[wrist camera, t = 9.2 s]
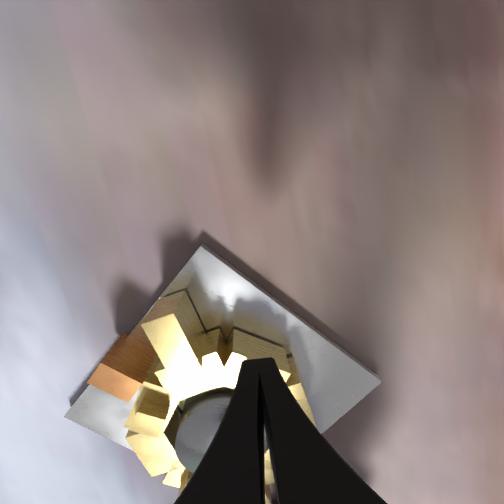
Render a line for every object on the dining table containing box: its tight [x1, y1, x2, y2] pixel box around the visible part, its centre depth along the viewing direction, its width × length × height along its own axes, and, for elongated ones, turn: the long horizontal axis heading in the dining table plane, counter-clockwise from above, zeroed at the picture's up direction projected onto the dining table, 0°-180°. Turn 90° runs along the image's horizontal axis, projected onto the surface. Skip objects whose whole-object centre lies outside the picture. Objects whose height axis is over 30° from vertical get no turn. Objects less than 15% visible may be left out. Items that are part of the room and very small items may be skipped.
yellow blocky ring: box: [124, 290, 317, 504], centre depth 18 cm, size 18×13×4 cm
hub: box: [64, 243, 382, 473], centre depth 18 cm, size 18×18×4 cm
